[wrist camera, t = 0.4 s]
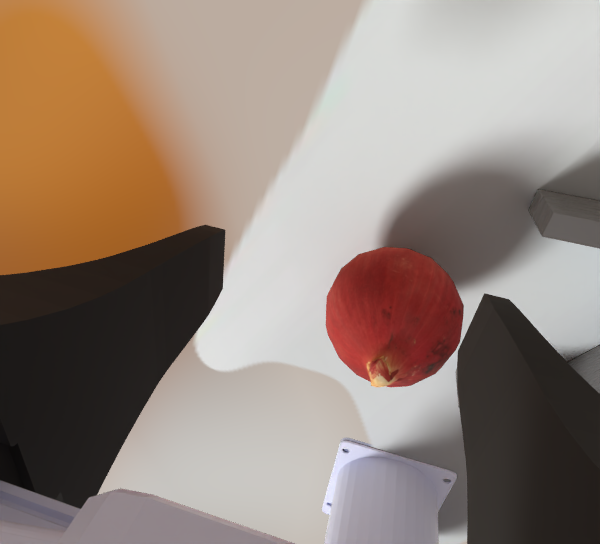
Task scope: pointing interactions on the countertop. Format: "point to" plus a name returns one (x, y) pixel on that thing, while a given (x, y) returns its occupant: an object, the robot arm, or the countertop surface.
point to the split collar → (576, 229)
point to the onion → (394, 316)
